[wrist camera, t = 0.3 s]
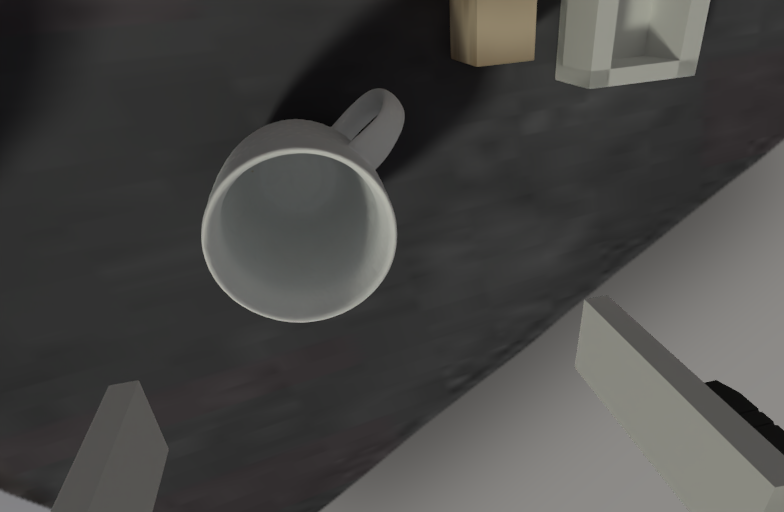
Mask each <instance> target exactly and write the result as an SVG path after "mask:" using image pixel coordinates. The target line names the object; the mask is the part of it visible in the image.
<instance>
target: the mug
mask: <svg viewBox="0 0 784 512" xmlns="http://www.w3.org/2000/svg"><path fill="white" fill-rule="evenodd" d="M376 116H377V117H376ZM374 117H376V118H375V119H374V120H373V121H372V122H371V123H370V124H369V125H368V126H367V127H366V128H365V129H364V130H363V131H362V132H361V133H360V134H359V135H358V136H356V135H357V134H358V133H359V132H360V131H361V130H362V129H363V128H364V127H365V126H366V125H367V124H368V123H369V122H370V121H371V120H372V119H373V118H374ZM404 119H405V113H404V109H403V106H402V105H401V103H400V102H399V100H398V99H397V98H396V97H395V96H394V94H392V93H391V92H389V91H387V90H385V89H382V88H376V89H372V90H370V91H368V92H366V93H365V94H363V95H362V96H361V97H359V98H358V99H357V100H356V101H355V102H354V103H353V104H352V105H351V106H350V107H349V108H348V109H347V110H346V111H345V112H344V113H343V114H342V115H341V116H340V118H339V119H338V120H337V121H336V122H335V123H334V124H333V125H332V127H328V126H326V125H324V124H323V123H318V122H314V121H312V120H304V119H292V120H290V119H287V120H281V121H278V122H274V123H272V124H268V125H266V126H264V127H262V128H259V129H258V130H257V131H255V132H253V133H251V134H250V135H249V136H247V137H246V138H245V139H244V140H243V141H242V142H240V144H239V145H238V146H237V147H236V148H235V149H234V150H233V151H232V153H231V154H230V156H229V157H228V158H227V160H226V161H225V164H224V165H223V166H222V168H221V170H220V172H219V174H218V176H217V178H216V182H215V183H214V185H213V188H212V192H211V193H210V195H209V200H208V203H207V206H206V209H205V213H204V216H203V222H202V231H201V239H202V249H203V253H204V257H205V260H206V263H207V266H208V268H209V270H210V272H211V274H212V276H213V277H214V279H215V280H216V282H217V283H218V285H219V286H220V287H221V288H222V289H223V290H224V291H225V292H226V293H227V294H228V295H229V296H230V297H231V298H232V299H233V300H234V301H236V302H237V303H239V304H240V305H241V306H243V307H245V308H247V309H248V310H250V311H252V312H254V313H257V314H259V315H262V316H265V317H268V318H271V319H275V320H279V321H286V322H313V321H319V320H324V319H328V318H331V317H334V316H337V315H340V314H342V313H344V312H346V311H348V310H350V309H352V308H353V307H355V306H357V305H358V304H360V303H361V302H362V301H364V300H365V299H366V298H367V297H369V296H370V295H371V294H372V293H373V292H374V291H375V290H376V289H377V287H378V286H379V285H380V284H381V282H382V281H383V280H384V278H385V276H386V275H387V273H388V271H389V269H390V267H391V264H392V261H393V259H394V255H395V251H396V245H397V224H396V218H395V214H394V210H393V207H392V204H391V202H390V199H389V197H388V194H387V192H386V190H385V188H384V186H383V183H382V181H381V179H380V178H379V176H378V174H377V172H376V171H375V170H376V168H378V167H379V165H380V164H381V163H382V162H383V161H384V160H385V158H386V157H387V156H388V155H389V153H390V152H391V150H392V148H393V147H394V145H395V143H396V141H397V140H398V137H399V135H400V133H401V131H402V128H403V125H404ZM355 136H356V137H355ZM354 137H355V138H354ZM353 138H354V139H353ZM352 139H353V140H352Z"/></svg>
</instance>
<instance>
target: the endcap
mask: <svg viewBox="0 0 784 512" xmlns="http://www.w3.org/2000/svg"><path fill="white" fill-rule="evenodd" d="M709 4H710V0H561V8H560V22H559V35H558V48H557V61H556V74H555V80H558V81H562V82H565V83H569V84H572V85H576V86H580V87H583V88H587V89H594V88H601V87H609V86H617V85H625V84H633V83H640V82H648V81H656V80H664V79H672V78H679V77H687V76H695V72H696V67H697V62H698V57H699V53H700V48H701V43H702V38H703V33H704V28H705V24H706V19H707V14H708V9H709Z"/></svg>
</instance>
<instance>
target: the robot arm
mask: <svg viewBox="0 0 784 512" xmlns="http://www.w3.org/2000/svg"><path fill="white" fill-rule="evenodd" d="M575 368H576V369H577V371H578V372H579V374H580V375H581V376H582V377H583V379H584V380H585V381H586V382H587V384H588V385H589V386H590V387H591V388H592V390H593V391H594V392H595V394H596V395H597V396H598V397H599V399H600V400H601V401H602V402H603V404H604V405H605V406H606V407H607V409H608V410H609V411H610V412H611V414H612V415H613V416H614V418H615V419H616V420H617V421H618V422H619V424H620V425H621V426H622V428H623V429H624V430H625V431H626V432H627V434H628V435H629V436H630V438H631V439H632V440H633V441H634V443H635V444H636V445H637V446H638V448H639V449H640V450H641V451H642V453H643V454H644V455H645V456H646V458H647V459H648V460H649V462H650V463H651V464H652V465H653V467H654V468H655V469H656V470H657V472H658V473H659V474H660V475H661V477H662V478H663V479H664V480H665V482H666V483H667V484H668V485H669V486H670V488H671V489H672V490H673V492H674V493H675V494H676V495H677V497H678V498H679V499H680V500H681V502H682V503H683V504H684V505H685V507H686V508H687V509H688V510H689V512H784V430H783V429H781V428H780V427H779V426H778V425H774V423H773V421H772V420H771V419H770V418H768V417H767V416H766V415H765V414H764V413H762V412H759V411H758V408H757V407H756V406H754V405H753V404H752V403H751V402H750V401H749V400H747V399H746V398H745V397H744V396H743V395H742V394H740V393H739V392H737V391H735V390H733V389H732V388H730V387H728V386H726V385H724V384H722V383H720V382H719V381H716V380H715V381H711V382H706V383H704V382H702V381H701V380H700V379H699V378H698V377H697V376H696V375H695V374H694V373H692V372H691V371H690V370H689V369H688V368H687V367H686V366H685V365H684V364H683V363H681V362H680V361H679V360H678V359H677V358H676V357H675V356H674V355H673V354H671V353H670V352H669V351H668V350H667V349H666V348H665V347H664V346H663V345H662V344H660V343H659V342H658V341H657V340H656V339H655V338H654V337H653V336H651V334H649V333H648V332H647V331H646V330H645V329H644V328H643V327H642V326H641V325H640V324H638V323H637V322H636V321H635V320H634V319H633V318H632V317H631V316H630V315H628V314H627V313H626V312H625V311H624V310H623V309H622V308H621V307H620V306H619V305H617V304H616V303H615V302H614V301H613V300H612V299H611V298H610V297H609V296H607V295H606V296H600V297H595V298H589V299H584V306H583V313H582V320H581V327H580V334H579V341H578V348H577V355H576V362H575ZM168 450H169V449H168V447H167V444H166V442H165V440H164V438H163V435H162V433H161V431H160V428H159V426H158V424H157V421H156V419H155V417H154V414H153V412H152V410H151V408H150V405H149V403H148V401H147V398H146V396H145V394H144V391H143V389H142V387H141V385H140V382H139V380H138V381H132V382H127V383H121V384H116V385H110V386H109V387H108V389H107V391H106V393H105V395H104V397H103V400H102V402H101V404H100V406H99V408H98V410H97V413H96V415H95V417H94V419H93V421H92V423H91V425H90V428H89V430H88V432H87V434H86V436H85V438H84V441H83V443H82V445H81V447H80V449H79V451H78V454H77V456H76V458H75V460H74V462H73V464H72V467H71V469H70V471H69V473H68V475H67V477H66V479H65V482H64V484H63V486H62V488H61V490H60V492H59V495H58V497H57V499H56V501H55V503H54V505H53V508H52V510H51V512H152V511H153V507H154V504H155V500H156V496H157V492H158V488H159V485H160V481H161V477H162V473H163V469H164V465H165V462H166V458H167V454H168Z"/></svg>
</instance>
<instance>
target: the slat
mask: <svg viewBox="0 0 784 512" xmlns="http://www.w3.org/2000/svg"><path fill="white" fill-rule="evenodd" d="M449 7H450V45H451V59H454V60H457V61H460V62H463V63H466V64H469V65H472V66H475V67H481V66H489V65H498V64H506V63H514V62H522V61H530V60H534V51H535V31H536V12H537V0H449Z"/></svg>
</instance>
